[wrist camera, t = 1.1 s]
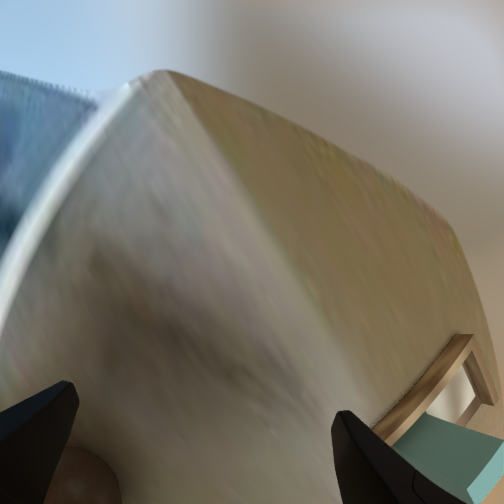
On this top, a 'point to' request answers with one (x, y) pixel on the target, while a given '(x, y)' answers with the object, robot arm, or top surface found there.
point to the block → (453, 457)
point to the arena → (444, 390)
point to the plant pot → (82, 480)
